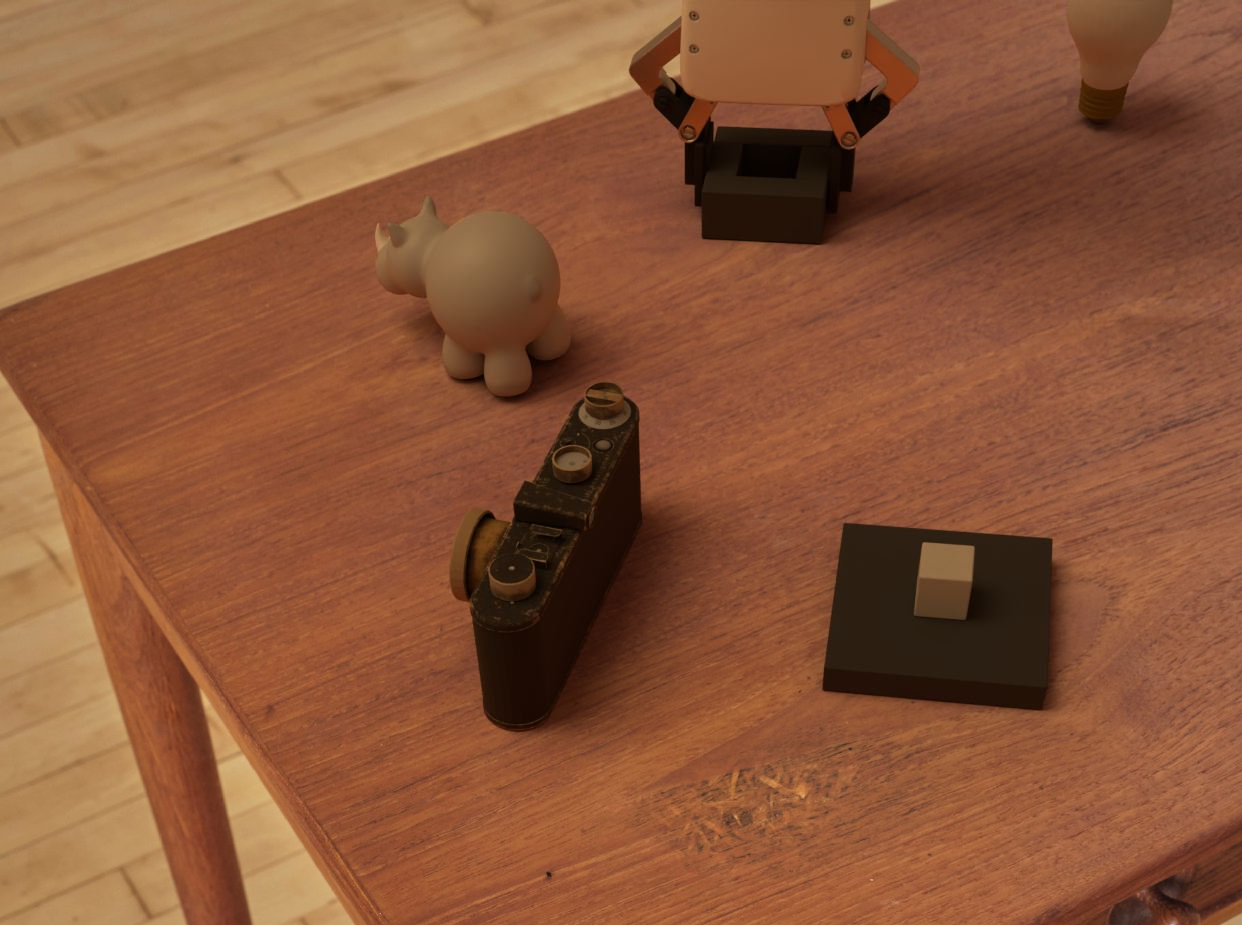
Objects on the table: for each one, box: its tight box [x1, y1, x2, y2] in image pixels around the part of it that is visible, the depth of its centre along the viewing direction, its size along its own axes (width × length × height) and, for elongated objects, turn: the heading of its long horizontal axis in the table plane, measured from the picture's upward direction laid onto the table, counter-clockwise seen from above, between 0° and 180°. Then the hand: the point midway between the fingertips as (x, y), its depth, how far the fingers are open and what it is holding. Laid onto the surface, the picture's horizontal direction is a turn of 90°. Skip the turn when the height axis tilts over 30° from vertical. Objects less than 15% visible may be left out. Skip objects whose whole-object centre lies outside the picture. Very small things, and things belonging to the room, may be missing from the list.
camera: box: [448, 381, 643, 731], centre depth 85 cm, size 16×7×8 cm, turn 160°
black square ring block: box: [701, 125, 832, 245], centre depth 106 cm, size 7×7×3 cm
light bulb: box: [1066, 0, 1174, 124], centre depth 107 cm, size 6×6×10 cm
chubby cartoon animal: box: [373, 194, 571, 397], centre depth 98 cm, size 7×12×8 cm, turn 50°
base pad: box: [821, 522, 1054, 711], centre depth 85 cm, size 10×10×4 cm
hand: (768, 195), depth 107 cm, fingers closed on black square ring block, 7 cm apart
